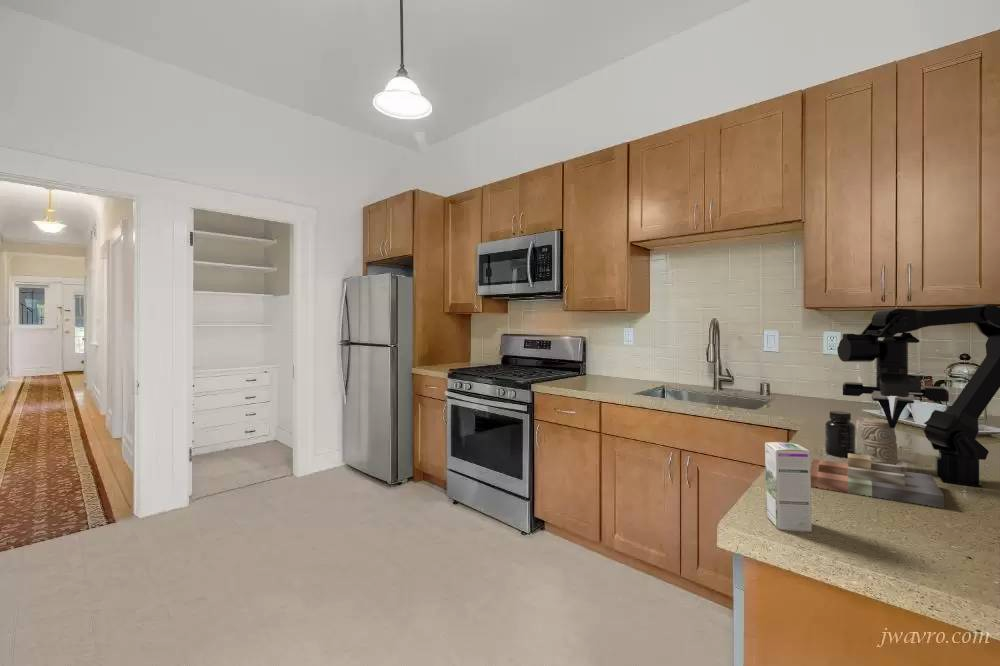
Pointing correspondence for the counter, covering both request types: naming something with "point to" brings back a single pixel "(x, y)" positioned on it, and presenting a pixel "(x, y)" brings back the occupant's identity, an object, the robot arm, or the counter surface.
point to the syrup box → (788, 486)
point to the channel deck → (877, 482)
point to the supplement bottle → (839, 434)
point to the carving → (879, 441)
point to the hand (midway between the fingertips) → (892, 427)
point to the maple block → (859, 461)
